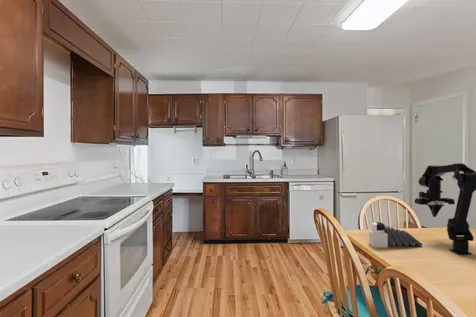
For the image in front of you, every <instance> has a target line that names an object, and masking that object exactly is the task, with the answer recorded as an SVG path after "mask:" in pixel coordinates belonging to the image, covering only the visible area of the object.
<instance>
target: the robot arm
mask: <svg viewBox="0 0 476 317" xmlns="http://www.w3.org/2000/svg"><path fill="white" fill-rule="evenodd" d="M449 173H453V177H454V178H455V179H456V183H457V186H458V188H459V193H458V198H457V201H456V202H455V199H454V198H450V197H442V196H441V195H442V194H443V190H442V188H441V187H442V181H444V178H442V177H441V176H444V175H445V174H449ZM418 185H419V186H421V187H425V188H428V189H426V192H424V191H419V192H418V196H419V197H416V198H415V199H414V204H416V205H422V206H425V205H426V206H427V207H428V208H429V210H430V212H431V215H432V217H433V218H436V217H437V215H438V214H439V212H440V211H441V209H442V208H443V207H445V204H446V203H447V204H448V205H455V204H456V206H455V212H454V216H453V218H449V219H448V220H447V224H446V226H447V227H446V231H447V232H446V233H447V237H448V239H449V240H450V241H452V248H449V251H450V252H452V253H455V254H457V255H473V254H472V253H473V252H470V251H469V250H470V249H469V244H470V243H469V242H470V241H471V242H473V241H474V239H475V238H474V236H473V234H472V232H471V230H470V225H469V222H468V220H467V219H468V215H469V210H470V206H471V204H472V198H473V194H474V193H475V191H476V170H474V169H472V168H470V167H468V166H467V165H466V164H465V163H462V162H461V163H460V162H459V163H453V164H445V165H439V164H438V165H427V167H426V168H425V171H423V174H421V177H419V179H418ZM444 203H445V204H444Z"/></svg>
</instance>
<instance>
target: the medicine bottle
mask: <svg viewBox="0 0 476 317" xmlns="http://www.w3.org/2000/svg"><path fill="white" fill-rule="evenodd" d="M385 226H386V225H385V223H383V222H379V221H378V222H377V221H376V222H372V223H371V230H369V231H368V244H369V245H370V246H371V247H372V248H373V249H374V248H375V249H376V248H377V249H387V248H388V246H389V245H388V234H386V233H385V232H384V231H385Z"/></svg>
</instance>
